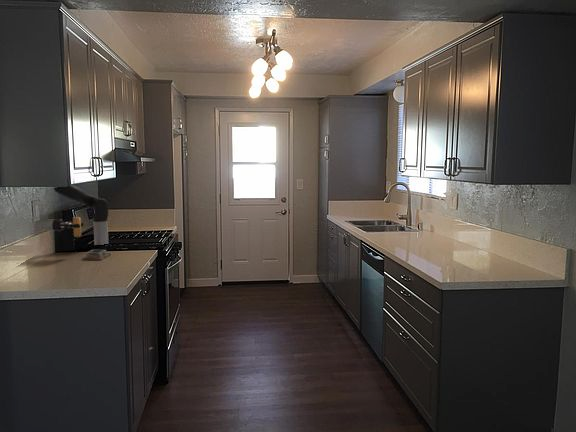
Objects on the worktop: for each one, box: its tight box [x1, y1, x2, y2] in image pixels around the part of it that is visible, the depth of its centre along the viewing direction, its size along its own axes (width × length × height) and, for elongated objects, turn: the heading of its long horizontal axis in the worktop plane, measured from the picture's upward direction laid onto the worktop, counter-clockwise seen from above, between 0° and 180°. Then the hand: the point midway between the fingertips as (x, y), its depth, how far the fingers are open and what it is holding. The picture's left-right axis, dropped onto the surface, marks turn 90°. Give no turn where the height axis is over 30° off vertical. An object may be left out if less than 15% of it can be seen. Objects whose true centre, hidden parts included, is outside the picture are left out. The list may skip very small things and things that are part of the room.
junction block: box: [81, 249, 112, 261], centre depth 295 cm, size 15×12×4 cm
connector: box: [72, 216, 83, 238], centre depth 299 cm, size 4×4×12 cm
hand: (81, 225), depth 299 cm, fingers closed on connector, 4 cm apart
